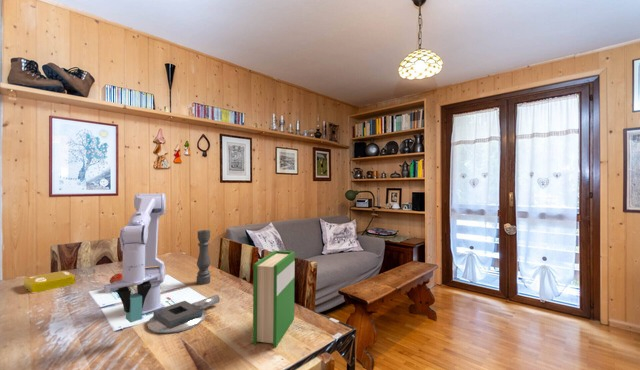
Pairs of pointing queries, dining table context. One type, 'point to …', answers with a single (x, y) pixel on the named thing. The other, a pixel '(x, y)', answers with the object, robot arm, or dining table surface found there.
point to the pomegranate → (116, 278)
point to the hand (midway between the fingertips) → (133, 309)
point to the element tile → (49, 281)
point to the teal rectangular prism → (135, 308)
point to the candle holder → (203, 258)
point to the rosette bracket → (180, 316)
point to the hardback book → (273, 296)
